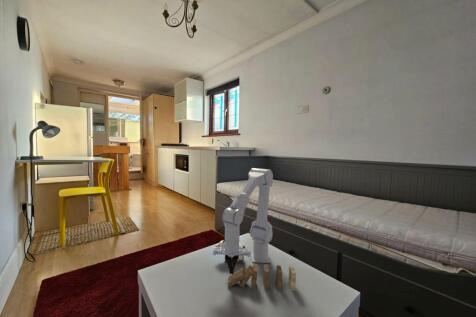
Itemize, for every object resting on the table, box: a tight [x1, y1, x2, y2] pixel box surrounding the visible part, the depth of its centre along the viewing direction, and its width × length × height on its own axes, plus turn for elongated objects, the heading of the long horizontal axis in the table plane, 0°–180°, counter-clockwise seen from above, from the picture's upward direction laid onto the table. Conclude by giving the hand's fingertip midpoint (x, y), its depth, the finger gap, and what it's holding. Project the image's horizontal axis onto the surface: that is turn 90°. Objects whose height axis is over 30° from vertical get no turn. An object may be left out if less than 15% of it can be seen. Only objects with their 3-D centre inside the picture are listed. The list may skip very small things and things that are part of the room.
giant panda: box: [215, 239, 246, 265], centre depth 94 cm, size 15×6×10 cm, turn 78°
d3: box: [250, 263, 259, 290], centre depth 78 cm, size 4×2×7 cm, turn 177°
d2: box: [238, 264, 253, 288], centre depth 78 cm, size 4×2×7 cm
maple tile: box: [288, 265, 297, 292], centre depth 77 cm, size 4×2×7 cm, turn 178°
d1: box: [227, 267, 246, 288], centre depth 78 cm, size 4×2×7 cm
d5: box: [275, 264, 283, 291], centre depth 77 cm, size 4×2×7 cm, turn 177°
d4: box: [263, 264, 270, 290], centre depth 78 cm, size 4×2×7 cm, turn 177°
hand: (231, 272), depth 78 cm, fingers closed
